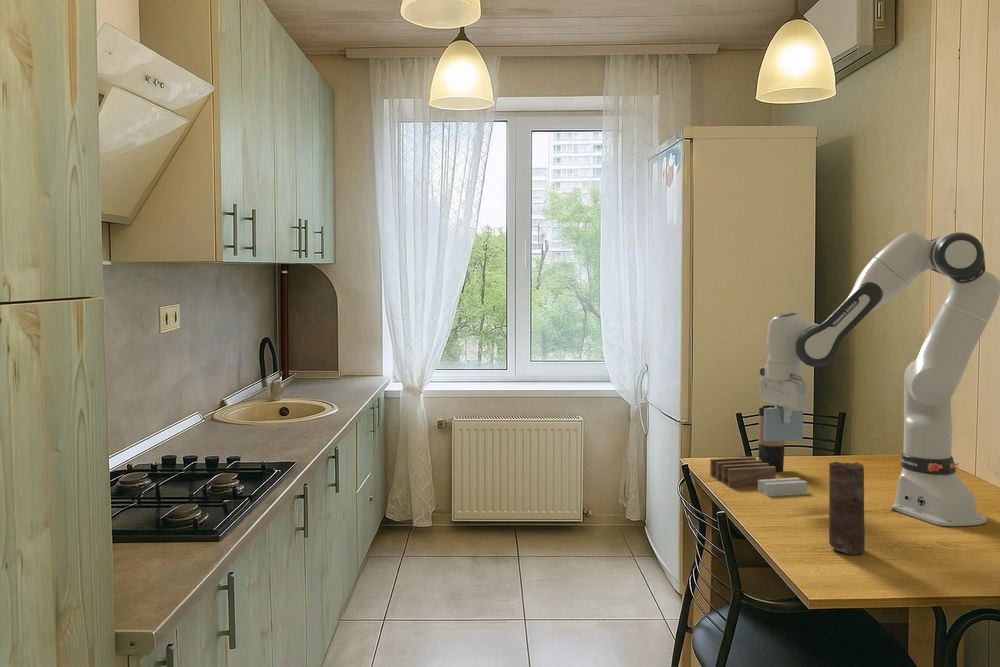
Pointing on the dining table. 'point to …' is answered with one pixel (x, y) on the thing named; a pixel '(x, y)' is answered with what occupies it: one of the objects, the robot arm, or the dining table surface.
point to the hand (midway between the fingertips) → (783, 421)
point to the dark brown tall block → (846, 507)
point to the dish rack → (741, 471)
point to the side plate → (782, 425)
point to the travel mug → (770, 446)
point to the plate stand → (782, 486)
